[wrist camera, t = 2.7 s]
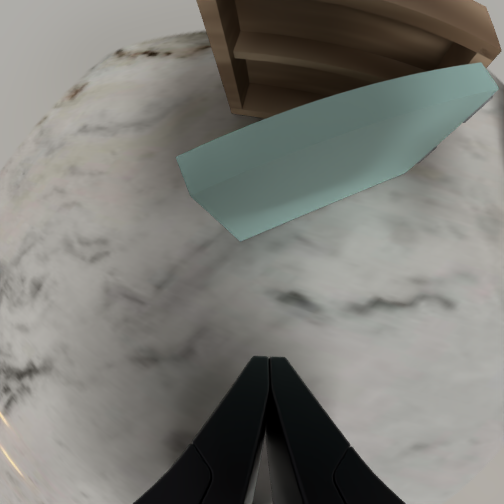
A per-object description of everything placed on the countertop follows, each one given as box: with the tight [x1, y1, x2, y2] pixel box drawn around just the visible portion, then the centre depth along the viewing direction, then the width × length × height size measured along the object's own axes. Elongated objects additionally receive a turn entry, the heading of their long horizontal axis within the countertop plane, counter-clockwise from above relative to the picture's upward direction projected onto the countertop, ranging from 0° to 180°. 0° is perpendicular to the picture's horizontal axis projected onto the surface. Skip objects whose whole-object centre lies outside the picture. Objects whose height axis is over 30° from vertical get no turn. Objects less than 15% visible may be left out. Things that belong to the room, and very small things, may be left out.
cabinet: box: [197, 0, 501, 118], centre depth 13 cm, size 3×12×12 cm, turn 77°
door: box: [176, 62, 499, 242], centre depth 13 cm, size 1×12×11 cm, turn 113°
